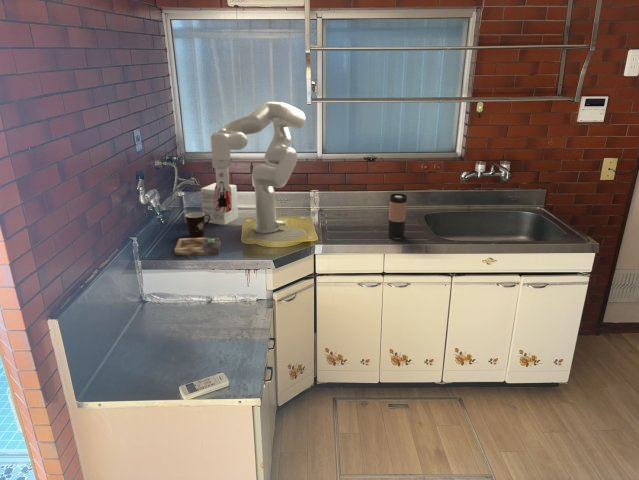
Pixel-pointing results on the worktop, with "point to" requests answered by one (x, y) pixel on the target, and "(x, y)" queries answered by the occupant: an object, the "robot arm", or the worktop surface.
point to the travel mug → (397, 215)
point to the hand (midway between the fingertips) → (223, 204)
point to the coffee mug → (196, 223)
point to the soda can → (229, 201)
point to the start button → (211, 240)
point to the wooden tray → (197, 246)
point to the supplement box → (210, 208)
